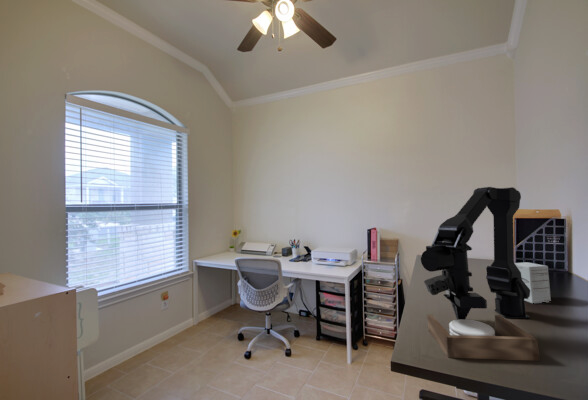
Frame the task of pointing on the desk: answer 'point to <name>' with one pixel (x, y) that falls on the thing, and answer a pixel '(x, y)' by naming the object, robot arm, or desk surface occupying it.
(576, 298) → the desk surface
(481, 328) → the coaster
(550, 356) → the desk surface
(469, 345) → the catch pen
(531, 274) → the supplement box
